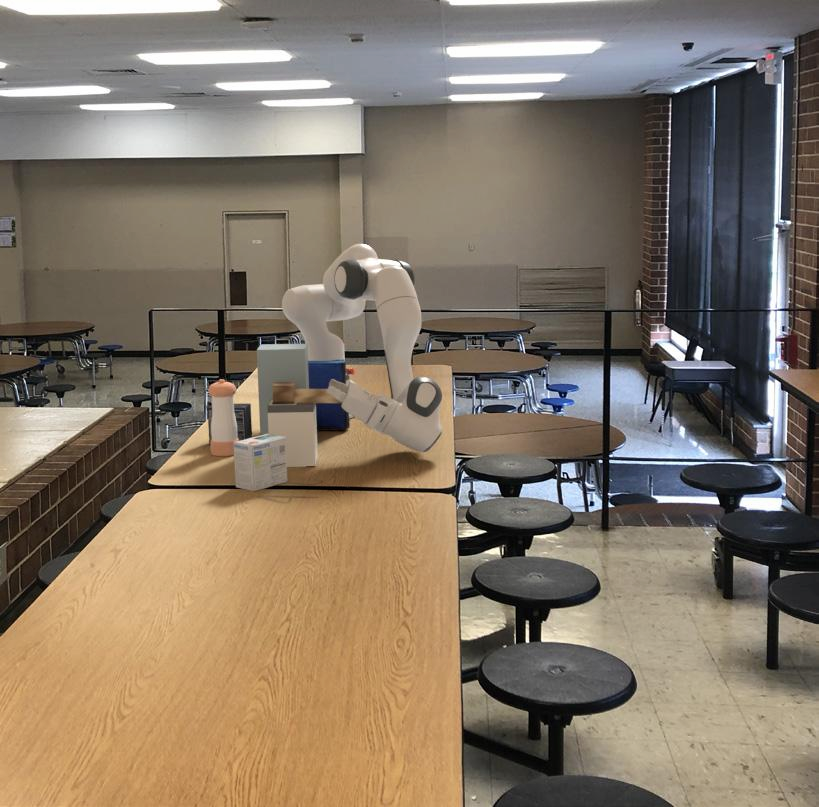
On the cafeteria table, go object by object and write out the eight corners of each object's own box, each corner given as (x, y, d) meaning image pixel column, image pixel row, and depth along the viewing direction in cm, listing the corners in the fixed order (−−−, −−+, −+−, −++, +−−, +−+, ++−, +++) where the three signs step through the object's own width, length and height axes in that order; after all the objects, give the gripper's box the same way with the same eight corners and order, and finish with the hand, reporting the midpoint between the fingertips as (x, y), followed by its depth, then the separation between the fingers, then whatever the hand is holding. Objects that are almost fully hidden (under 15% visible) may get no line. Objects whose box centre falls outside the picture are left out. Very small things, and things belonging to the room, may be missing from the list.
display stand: (312, 445, 294) (308, 343, 289) (309, 454, 283) (306, 349, 278) (264, 446, 293) (259, 344, 288) (259, 455, 283) (255, 350, 278)
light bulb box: (268, 477, 261) (266, 432, 259) (288, 482, 257) (287, 436, 255) (234, 487, 253) (231, 441, 251) (254, 492, 249) (252, 445, 247)
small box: (253, 440, 300) (251, 402, 298) (247, 446, 294) (245, 407, 292) (215, 440, 301) (213, 402, 300) (208, 446, 295) (206, 407, 293)
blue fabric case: (350, 428, 314) (349, 357, 310) (348, 432, 309) (346, 360, 305) (300, 428, 315) (298, 358, 312) (296, 432, 310) (294, 360, 307)
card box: (317, 456, 281) (315, 397, 278) (315, 466, 271) (313, 405, 268) (273, 457, 280) (271, 398, 278) (269, 467, 271) (267, 406, 268)
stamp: (272, 403, 270) (272, 385, 269) (274, 400, 275) (274, 382, 274) (341, 403, 271) (341, 385, 270) (341, 400, 276) (341, 382, 275)
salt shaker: (205, 454, 285) (201, 380, 282) (222, 448, 291) (218, 376, 288) (228, 457, 282) (224, 382, 278) (245, 451, 288) (242, 378, 285)
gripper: (384, 393, 283) (336, 367, 282) (384, 408, 263) (333, 380, 262) (372, 414, 284) (324, 388, 283) (371, 431, 264) (320, 403, 263)
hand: (328, 384), depth 272 cm, fingers open, 8 cm apart
